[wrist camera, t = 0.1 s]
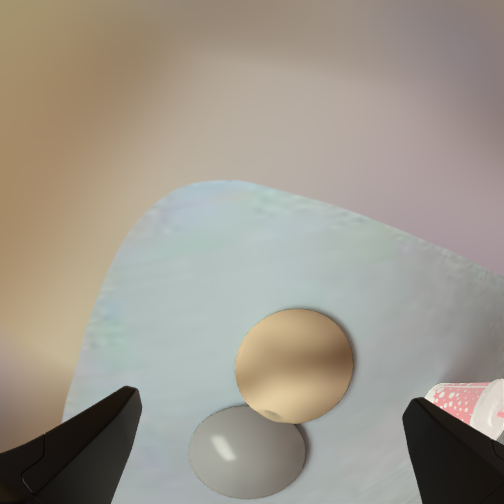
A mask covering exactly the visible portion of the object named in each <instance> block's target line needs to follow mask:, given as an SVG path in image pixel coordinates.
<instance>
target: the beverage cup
mask: <svg viewBox="0 0 504 504" xmlns="http://www.w3.org/2000/svg"><path fill="white" fill-rule="evenodd" d="M425 399H427V400H428V401H430V402H432V403H433V404H435V405H437V406H438V407H440V408H441V409H443V410H445V411H446V412H448V413H450V414H451V415H453V416H454V417H456V418H458V419H459V420H461V421H463V422H464V423H466V424H468V425H470V426H471V427H473V428H475V429H476V430H478V431H480V432H481V433H483V434H485V435H487V436H488V437H490V438H491V439H494V440H495V441H496V440H497V438H498V437H499V436H500V435H501V433H502V432H503V430H504V379H500V380H499V379H496V380H494V381H493V382H485V383H440V384H437V385H435V386H434V387H433V388H432V389H431V390H429V392H428V394H427V395H426V397H425Z"/></svg>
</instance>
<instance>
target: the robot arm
mask: <svg viewBox="0 0 504 504" xmlns="http://www.w3.org/2000/svg"><path fill="white" fill-rule="evenodd" d="M141 412H142V403H141V399H140V394H139V391H138V389H137V388H134V387H130V386H124V387H122V388H120V389H119V390H117V391H116V392H114V393H112V394H111V395H109V396H108V397H106V398H104V399H103V400H101V401H99V402H98V403H96V404H94V405H93V406H91V407H90V408H88V409H86V410H84V411H83V412H81V413H79V414H78V415H76V416H74V417H73V418H71V419H69V420H67V421H66V422H64V423H62V424H61V425H59V426H57V427H55V428H53V429H52V430H50V431H48V432H46V433H45V434H43V435H41V436H39V437H37V438H35V439H34V440H31V441H29V442H27V443H25V444H23V445H21V446H19V447H16V448H13V449H11V450H8V451H5V452H3V453H0V504H111V502H112V499H113V496H114V494H115V491H116V488H117V486H118V483H119V481H120V478H121V475H122V473H123V470H124V468H125V465H126V463H127V460H128V458H129V455H130V452H131V450H132V446H133V443H134V439H135V435H136V431H137V427H138V423H139V420H140V416H141ZM402 420H403V425H404V430H405V435H406V440H407V446H408V451H409V455H410V459H411V462H412V466H413V469H414V473H415V476H416V480H417V484H418V488H419V492H420V496H421V500H422V504H504V445H503V444H501V443H499V442H497V441H495V440H494V439H491V438H490V437H488V436H487V435H485V434H483V433H481V432H480V431H478V430H476V429H475V428H473V427H471V426H470V425H468V424H466V423H464V422H463V421H461V420H459V419H458V418H456V417H454V416H453V415H451V414H450V413H448V412H446V411H445V410H443V409H441V408H440V407H438V406H437V405H435V404H433V403H432V402H430V401H428V400H427V399H425V398H423V397H419V398H414V399H412V400H411V401H410V403H409V405H408V407H407V408H406V410H405V412H404V414H403V417H402Z"/></svg>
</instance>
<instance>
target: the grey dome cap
mask: <svg viewBox="0 0 504 504" xmlns="http://www.w3.org/2000/svg"><path fill="white" fill-rule="evenodd" d="M266 411H268V410H266ZM267 413H268V412H267ZM268 414H269V413H268ZM271 414H272V412H271ZM274 414H275V412H274ZM274 414H273V415H274ZM275 416H277V415H275ZM278 417H280V416H278ZM267 418H268V417H266V418H265V417H264V416H261V415H260V414H259V413H258V412H256V411H255V410H254V409H252V408H251V407H250V406H235V407H230V408H227V409H223V410H221V411H218V412H216V413H214V414H212V415H211V416H209V417H208V418H206V419H205V420H204V421H203V422H202V423H201V424H200V425H199V426H198V428H197V429H196V430H195V432H194V434H193V436H192V438H191V440H190V443H189V449H188V456H189V462H190V465H191V468H192V470H193V472H194V473H195V475H196V476H197V478H198V479H199V480H200V481H201V482H202V483H203V484H204V485H206V486H207V487H208V488H210V489H211V490H213V491H215V492H217V493H219V494H221V495H224V496H227V497H231V498H236V499H257V498H263V497H267V496H270V495H272V494H275V493H277V492H279V491H281V490H283V489H284V488H286V487H287V486H288V485H289V484H291V483H292V482H293V481H294V480H295V478H296V477H297V476H298V474H299V473H300V471H301V469H302V467H303V464H304V461H305V454H306V452H305V444H304V441H303V438H302V436H301V434H300V432H299V431H298V429H297V428H296V427H295V425H294V424H291V423H290V424H286V423H279V422H275V421H272V419H271V420H270V419H267ZM270 418H271V417H270ZM275 418H276V417H275ZM273 419H274V418H273ZM281 420H282V419H281ZM281 420H280V421H281ZM277 421H278V419H277Z"/></svg>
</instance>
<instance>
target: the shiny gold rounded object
mask: <svg viewBox="0 0 504 504" xmlns="http://www.w3.org/2000/svg"><path fill="white" fill-rule="evenodd" d="M352 370H353V357H352V351H351V347H350V345H349V342H348V340H347V338H346V336H345V334H344V333H343V331H342V330H341V329H340V328H339V327H338V326H337V324H335V323H334V322H333V321H332V320H331V319H329V318H327V317H326V316H324V315H322V314H320V313H317V312H314V311H311V310H305V309H290V310H284V311H280V312H277V313H274V314H272V315H270V316H268V317H266V318H264V319H263V320H261V321H260V322H259V323H257V324H256V325H255V326H254V327H253V328H252V329H251V330H250V331H249V333H248V334H247V335H246V337H245V338H244V340H243V341H242V343H241V345H240V348H239V351H238V354H237V358H236V364H235V374H236V381H237V385H238V388H239V391H240V393H241V395H242V397H243V398H244V400H245V401H246V402H247V404H248V405H249V406H250V407H251V408H252V409H254V410H255V411H256V412H258V413H259V414H260V415H261V416H264V417H265V418H266V417H268V418H267V419H270V420H271V419H272V421H275V422H279V423H286V424H290V423H291V424H297V423H303V422H307V421H311V420H313V419H316V418H318V417H320V416H322V415H323V414H325V413H327V412H328V411H329V410H331V409H332V408H333V407H334V406H335V405H336V404H337V403H338V402H339V400H340V399H341V398H342V396H343V395H344V393H345V392H346V390H347V388H348V385H349V383H350V380H351V376H352ZM266 410H268V411H266ZM267 412H268V413H269V414H268V413H267ZM271 412H272V414H271ZM274 412H275V414H274ZM273 414H274V415H273ZM275 415H277V416H275ZM278 416H280V417H278ZM270 417H271V418H270ZM275 417H276V418H275ZM273 418H274V419H273ZM277 419H278V421H277ZM281 419H282V420H281ZM280 420H281V421H280Z"/></svg>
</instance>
